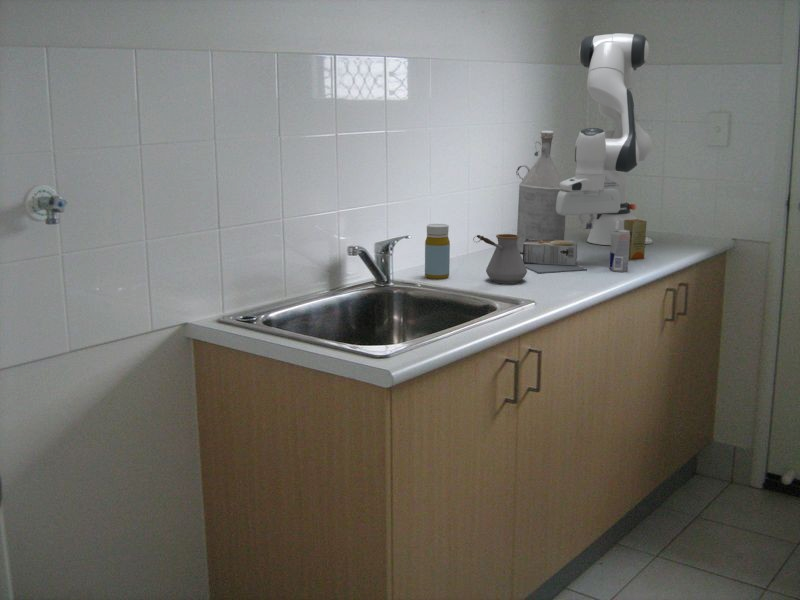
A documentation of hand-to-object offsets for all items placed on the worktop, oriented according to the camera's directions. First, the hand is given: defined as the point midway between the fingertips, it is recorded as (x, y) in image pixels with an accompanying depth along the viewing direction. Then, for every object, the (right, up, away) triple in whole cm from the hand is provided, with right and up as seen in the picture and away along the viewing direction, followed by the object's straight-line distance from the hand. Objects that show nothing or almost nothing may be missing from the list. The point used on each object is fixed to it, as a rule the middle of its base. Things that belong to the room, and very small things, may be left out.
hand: (587, 228), depth 271 cm
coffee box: (-3, -7, +1) cm, 8 cm away
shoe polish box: (+17, -8, +14) cm, 24 cm away
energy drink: (+8, -13, -6) cm, 17 cm away
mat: (-11, -12, -1) cm, 16 cm away
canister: (-11, -6, +22) cm, 26 cm away
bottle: (-47, -15, -16) cm, 51 cm away
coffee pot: (-30, -17, -24) cm, 42 cm away
